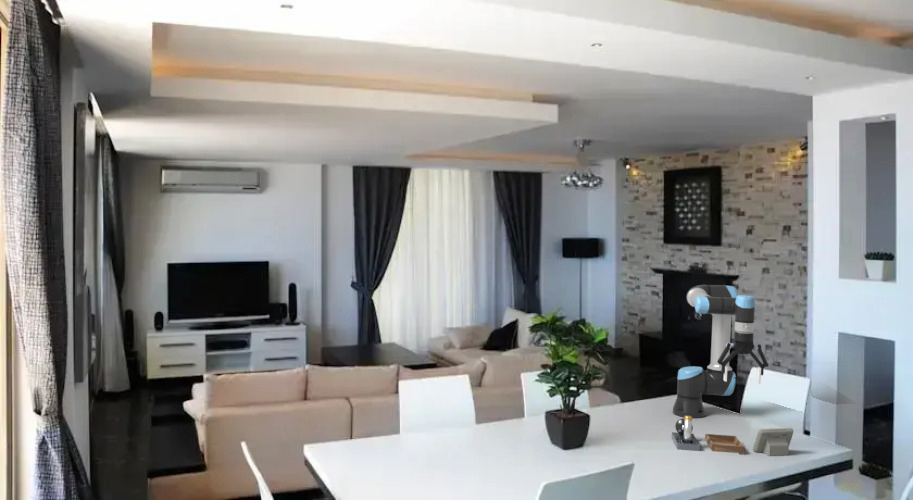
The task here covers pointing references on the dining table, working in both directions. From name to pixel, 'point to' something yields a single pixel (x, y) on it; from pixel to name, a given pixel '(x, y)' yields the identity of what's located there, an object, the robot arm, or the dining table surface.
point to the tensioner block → (679, 438)
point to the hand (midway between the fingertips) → (741, 381)
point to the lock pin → (687, 429)
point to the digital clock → (773, 441)
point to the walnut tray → (724, 443)
